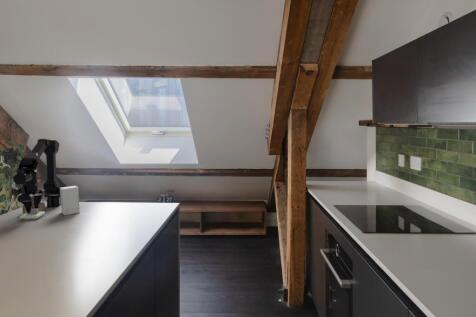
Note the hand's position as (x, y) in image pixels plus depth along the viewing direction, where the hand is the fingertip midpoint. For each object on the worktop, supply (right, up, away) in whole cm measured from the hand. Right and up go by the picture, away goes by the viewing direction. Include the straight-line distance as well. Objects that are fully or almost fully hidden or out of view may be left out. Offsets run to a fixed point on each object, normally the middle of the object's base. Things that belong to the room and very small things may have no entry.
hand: (32, 210), depth 167 cm
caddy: (-5, -3, +9) cm, 11 cm away
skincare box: (+14, -3, +10) cm, 18 cm away
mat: (-1, -4, +4) cm, 6 cm away
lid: (0, -3, 0) cm, 3 cm away
